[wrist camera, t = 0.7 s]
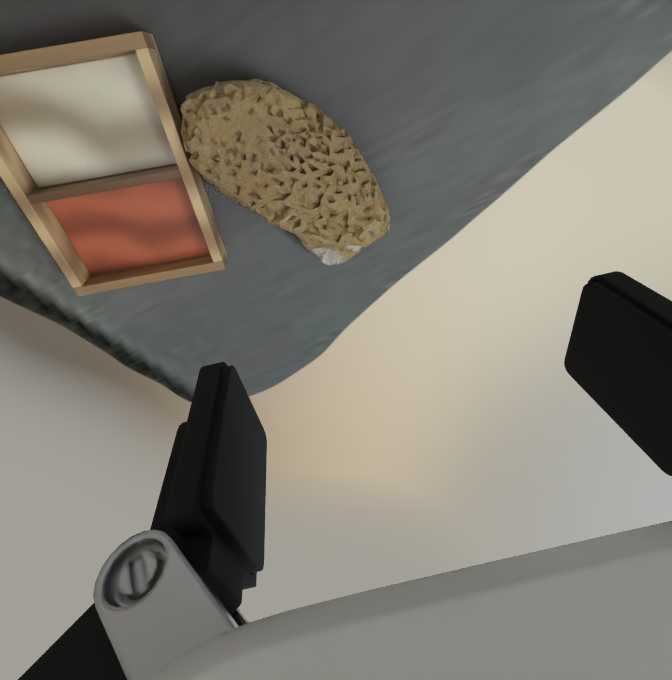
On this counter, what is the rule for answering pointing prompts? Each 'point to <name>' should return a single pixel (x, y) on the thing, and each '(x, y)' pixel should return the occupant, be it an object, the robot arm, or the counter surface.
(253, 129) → the sponge
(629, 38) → the counter surface
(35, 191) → the tray
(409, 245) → the counter surface
